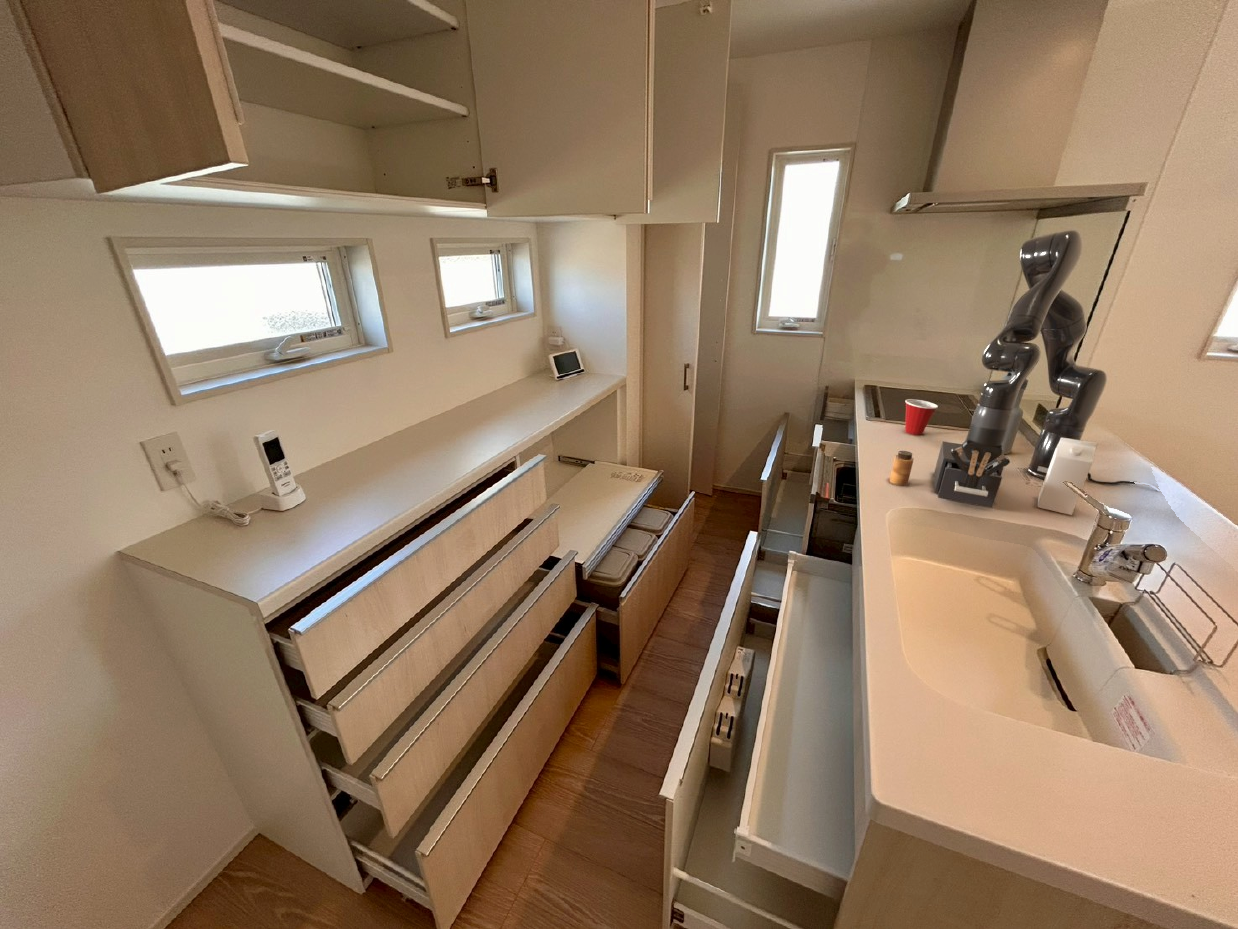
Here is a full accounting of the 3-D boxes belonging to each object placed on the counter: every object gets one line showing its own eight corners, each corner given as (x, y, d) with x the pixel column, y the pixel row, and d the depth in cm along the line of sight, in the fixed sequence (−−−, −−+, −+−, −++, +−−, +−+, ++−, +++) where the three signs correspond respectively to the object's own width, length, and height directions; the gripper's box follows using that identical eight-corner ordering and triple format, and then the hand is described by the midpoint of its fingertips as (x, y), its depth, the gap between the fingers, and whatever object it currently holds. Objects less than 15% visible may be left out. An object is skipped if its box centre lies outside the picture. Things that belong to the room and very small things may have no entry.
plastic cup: (935, 438, 183) (944, 406, 178) (904, 436, 185) (911, 405, 180) (924, 428, 193) (931, 398, 188) (894, 427, 195) (900, 397, 190)
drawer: (994, 516, 127) (1004, 485, 123) (938, 505, 132) (946, 475, 129) (987, 487, 142) (996, 459, 139) (937, 478, 148) (944, 451, 145)
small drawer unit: (992, 503, 135) (1003, 467, 131) (934, 492, 142) (943, 458, 137) (986, 482, 148) (997, 449, 144) (933, 473, 154) (942, 441, 150)
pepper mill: (907, 481, 149) (915, 451, 145) (907, 487, 145) (914, 457, 141) (890, 477, 151) (896, 448, 147) (889, 483, 147) (895, 454, 144)
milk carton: (1037, 498, 138) (1060, 433, 131) (1071, 505, 134) (1097, 439, 126) (1036, 507, 133) (1060, 441, 125) (1071, 515, 129) (1098, 447, 121)
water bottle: (974, 442, 178) (997, 365, 168) (1007, 447, 174) (1033, 367, 163) (977, 452, 170) (1002, 371, 159) (1012, 457, 166) (1040, 374, 155)
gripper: (958, 423, 123) (940, 486, 129) (1025, 432, 117) (1002, 498, 123) (957, 416, 129) (940, 477, 135) (1020, 424, 123) (999, 488, 129)
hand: (969, 487), depth 129 cm, fingers closed
